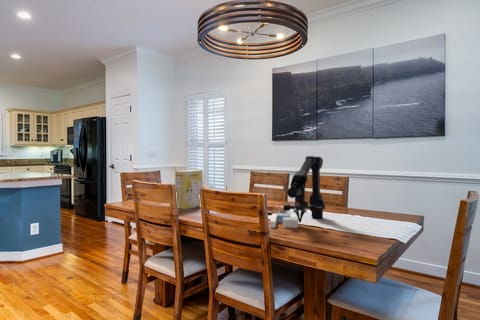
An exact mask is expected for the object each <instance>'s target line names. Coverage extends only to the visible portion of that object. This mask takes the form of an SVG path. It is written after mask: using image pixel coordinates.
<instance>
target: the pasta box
mask: <svg viewBox="0 0 480 320" xmlns="http://www.w3.org/2000/svg"><path fill="white" fill-rule="evenodd" d="M174 172H175V173H174V177H175V178H174V182H175V183H174V185H176V192H177V204H178V208H177V209H180V208H181V209H180V210H189V209H193V208H198V207H197V206H200V198H199V188H203V170H201V169H200V170H199V169H188V170H187V169H186V170H175V171H174ZM200 207H201V206H200ZM188 208H189V209H188Z"/></svg>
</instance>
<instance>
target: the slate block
mask: <svg viewBox="0 0 480 320" xmlns="http://www.w3.org/2000/svg"><path fill="white" fill-rule="evenodd" d="M276 214H277V223H276V224H279V223H280V224H283V217H291V213H290V212H289V213H287V212H277V213H276Z"/></svg>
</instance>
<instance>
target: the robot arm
mask: <svg viewBox="0 0 480 320" xmlns="http://www.w3.org/2000/svg"><path fill="white" fill-rule="evenodd" d="M323 162H324V159H323V158H322V157H321V156H314V155H310V156H309V155H307V156H305V161H304V162H303V164H302V166H301V167H300V169H299V170H297V171H296V172H295V173H294V174H293V176H292V178H291V182H290V187H289V188H288V189H287V195H288V197H289V198H291V199H293V198H294V205H291V204H290V203H289V204H288V203H284V204H283V208H282V209H283V211H284V212H285V211H287V212H288V211H291V210H293V212H294V214H296V216H297V217H296V218H297V219H298V224H301V222H302V219H303V217H304V214H305V213H307V210H308V211H311V218H312V219H315V220H316V219H320V220H321V219H322V220H323V219H324V217H323V216H324V214H323V213H324V210H326V203H325V202H324V198H323V195H322V194H321V176H320V175H321V174H320V170H321V169H322V167H323ZM310 170H311V180H312V181H311V183H312V184H311V186H312V187H311V190H312V191H311V192H312V193H311V195H310V196H309V201H306V187H307V186H306V185H307V182H308V179H309V178H308V174H309V172H310ZM299 211H300V212H299Z"/></svg>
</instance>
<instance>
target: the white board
mask: <svg viewBox="0 0 480 320" xmlns="http://www.w3.org/2000/svg"><path fill="white" fill-rule="evenodd" d="M277 224H278V223H277V213H272V214H271V217H270V222H269V228H276V226H277Z"/></svg>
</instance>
